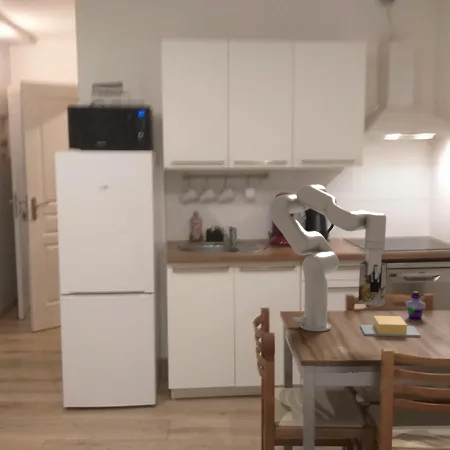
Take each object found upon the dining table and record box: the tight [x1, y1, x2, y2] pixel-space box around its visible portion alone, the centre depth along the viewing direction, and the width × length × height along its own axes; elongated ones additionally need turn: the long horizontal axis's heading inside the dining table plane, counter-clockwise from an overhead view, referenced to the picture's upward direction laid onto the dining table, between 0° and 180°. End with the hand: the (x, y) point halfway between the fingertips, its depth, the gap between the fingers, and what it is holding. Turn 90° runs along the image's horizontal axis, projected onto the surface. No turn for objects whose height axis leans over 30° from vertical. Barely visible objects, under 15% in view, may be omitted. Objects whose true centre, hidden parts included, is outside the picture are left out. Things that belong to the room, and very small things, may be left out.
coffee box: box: [357, 260, 388, 308], centre depth 236 cm, size 9×6×16 cm
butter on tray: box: [359, 315, 421, 338], centre depth 250 cm, size 22×13×5 cm, turn 85°
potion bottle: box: [405, 291, 427, 321], centre depth 271 cm, size 9×9×12 cm
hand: (372, 289), depth 237 cm, fingers closed on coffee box, 8 cm apart
